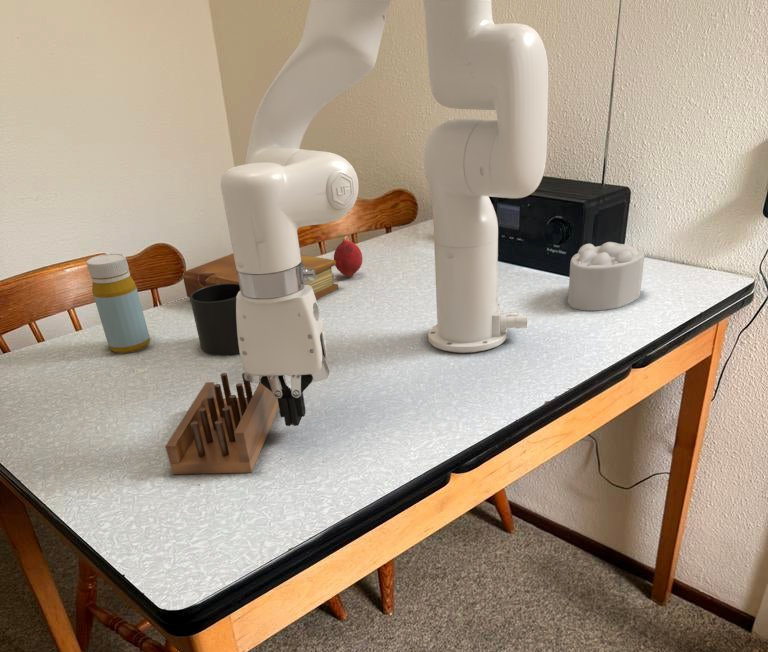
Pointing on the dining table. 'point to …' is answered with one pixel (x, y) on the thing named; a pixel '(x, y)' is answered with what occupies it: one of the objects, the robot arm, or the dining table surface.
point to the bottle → (118, 303)
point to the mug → (216, 318)
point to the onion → (348, 257)
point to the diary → (226, 273)
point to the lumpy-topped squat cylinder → (605, 276)
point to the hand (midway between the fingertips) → (294, 420)
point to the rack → (222, 429)
